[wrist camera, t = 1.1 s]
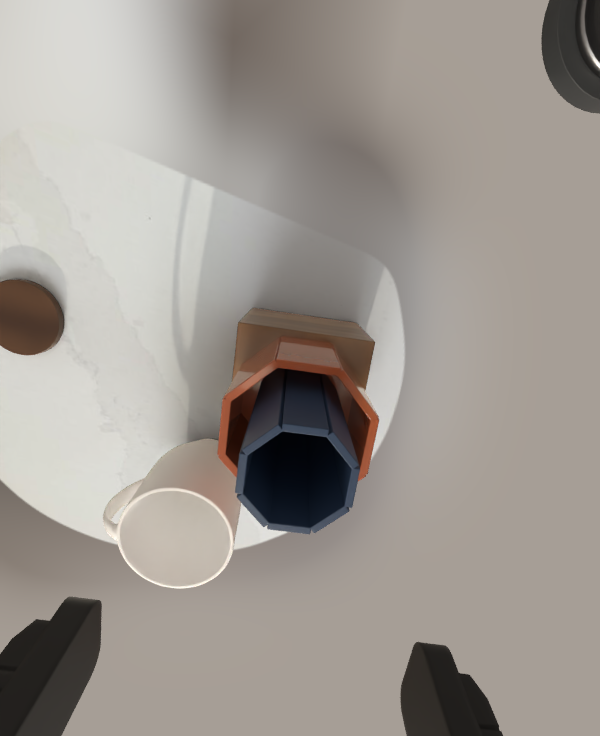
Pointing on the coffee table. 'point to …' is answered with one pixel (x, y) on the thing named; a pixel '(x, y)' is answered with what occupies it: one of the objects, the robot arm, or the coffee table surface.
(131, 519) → the mug
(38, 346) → the coaster
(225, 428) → the terracotta cup
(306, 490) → the slate cup
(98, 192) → the coffee table surface
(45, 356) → the coffee table surface
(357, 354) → the riser
